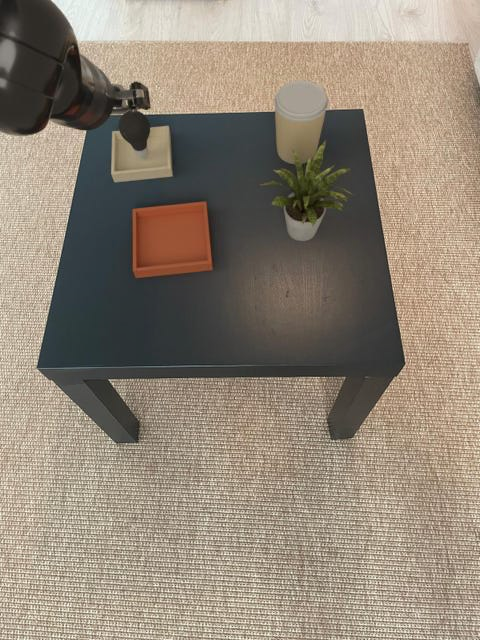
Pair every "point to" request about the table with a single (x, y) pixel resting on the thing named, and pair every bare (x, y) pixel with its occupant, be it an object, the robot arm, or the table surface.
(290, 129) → the coffee cup
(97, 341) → the table surface
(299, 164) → the house plant
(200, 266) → the terracotta tray
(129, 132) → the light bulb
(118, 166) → the cream tray
